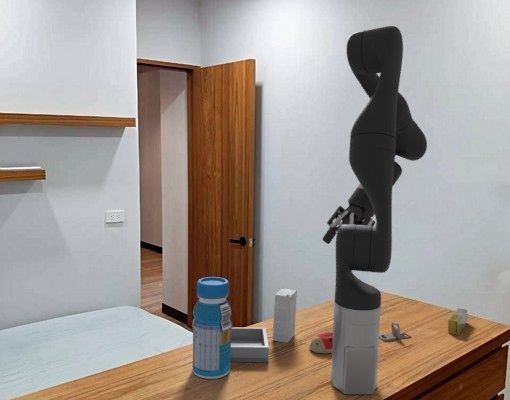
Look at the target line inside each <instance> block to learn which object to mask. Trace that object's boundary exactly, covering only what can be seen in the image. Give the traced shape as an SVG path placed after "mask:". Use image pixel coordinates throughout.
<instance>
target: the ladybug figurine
mask: <svg viewBox="0 0 510 400" xmlns="http://www.w3.org/2000/svg"><path fill="white" fill-rule="evenodd" d="M332 347H333V331H332V332H323V333H320V334H318V335H316V336H314V337H313V338H312V339H311V341H310V344H309V349H310V351H312V352H313V353H315V352H316V354H320V353H323V354H325V355H326V354H327V355H328V354H332ZM323 354H322V355H323Z"/></svg>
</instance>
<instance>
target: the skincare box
mask: <svg viewBox="0 0 510 400" xmlns="http://www.w3.org/2000/svg"><path fill="white" fill-rule="evenodd" d="M297 294H298V291H297V290H295V289H288V288H281V289H280V290H279V291H278V292H277V293H276V294H274V306H273V308H274V309H273V324H272V325H273V326H272V327H273V328H272V340H273V341H274V342H279V343H285V344H288V343H289V342H290V341H291V340H292V338H293V337H294V336H295V334H296V333H295V332H296V315H297V313H296V311H297V298H298V297H297Z"/></svg>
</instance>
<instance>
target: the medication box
mask: <svg viewBox="0 0 510 400" xmlns="http://www.w3.org/2000/svg"><path fill="white" fill-rule="evenodd" d="M447 323H448V324H447V326H448V327H447V332H448V333H447V334H450V335H455V336H459V335H460V334H461V332H462V331H463V329H464V328H465V326H467V323H468V310H467V309H466V308H457V310H455V312H454V313H453V314H452V315H451V317H450V318H449V319H448V322H447Z"/></svg>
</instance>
